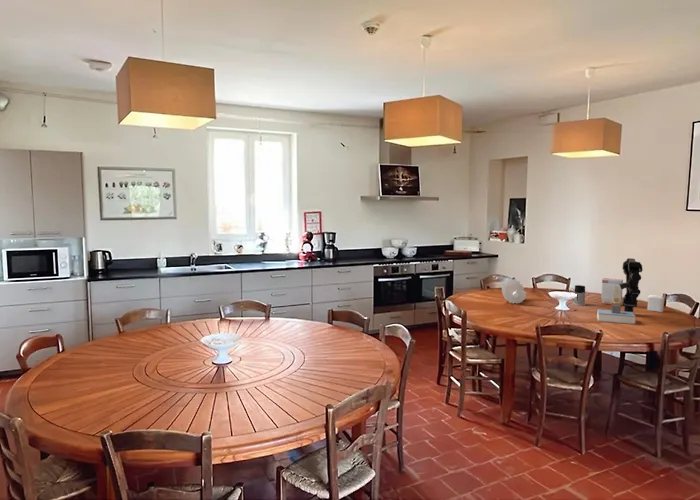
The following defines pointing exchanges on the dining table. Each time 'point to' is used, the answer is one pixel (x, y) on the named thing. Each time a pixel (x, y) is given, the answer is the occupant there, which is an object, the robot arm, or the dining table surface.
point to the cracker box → (611, 291)
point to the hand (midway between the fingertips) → (632, 300)
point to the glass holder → (579, 295)
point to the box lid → (608, 312)
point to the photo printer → (655, 303)
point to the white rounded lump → (513, 291)
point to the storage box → (615, 319)
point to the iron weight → (616, 309)
